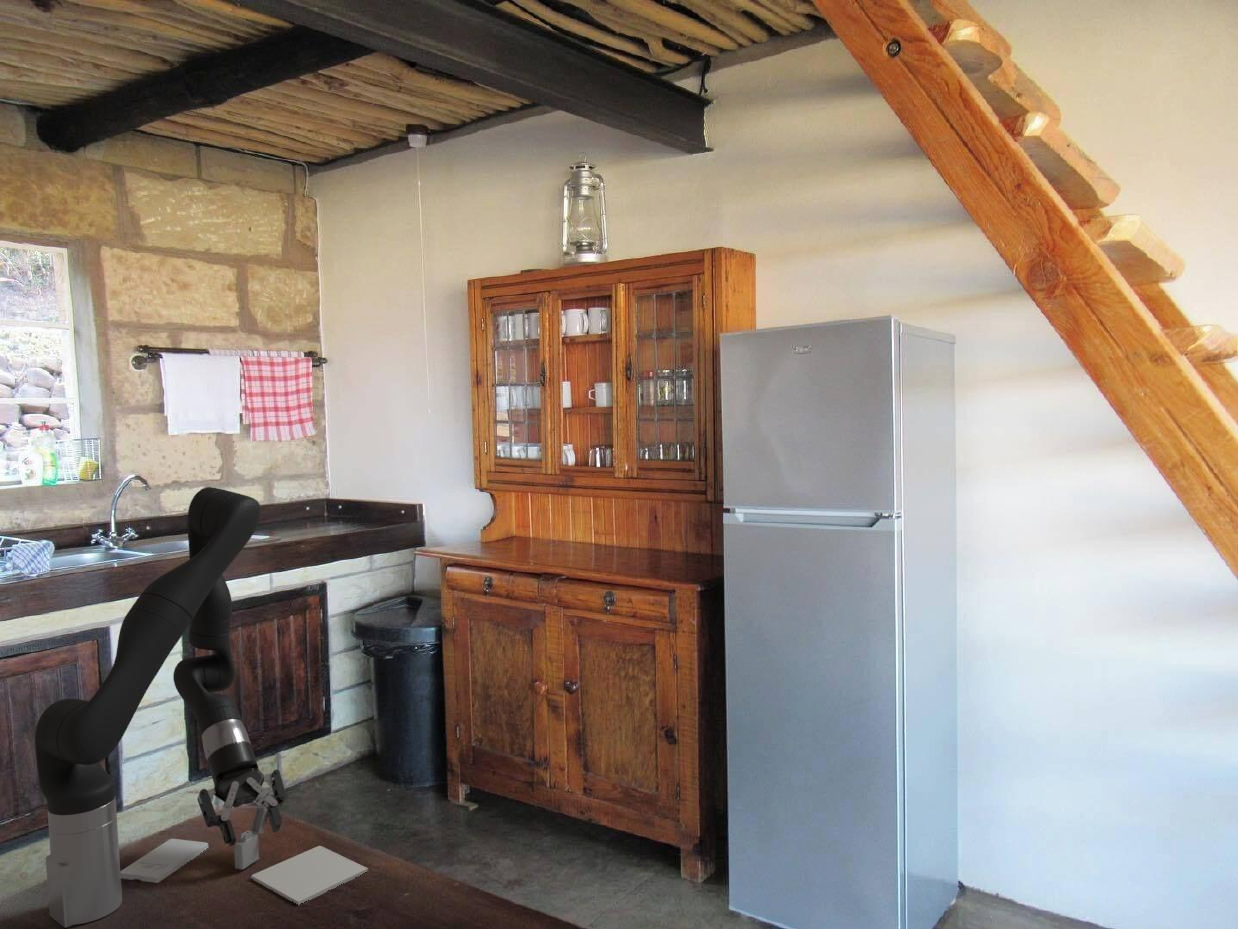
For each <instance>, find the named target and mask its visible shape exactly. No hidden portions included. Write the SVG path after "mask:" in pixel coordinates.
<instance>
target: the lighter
mask: <svg viewBox="0 0 1238 929" xmlns="http://www.w3.org/2000/svg"><path fill="white" fill-rule="evenodd" d="M268 813H269V809H265V808H263V807H256V808H255V812H254V816H253V819H252V820H253V821H252V825H251V829H250V830H246V831H244V832H242V833H240V835H239V839H238V840H236V842H235V844H234V845H233V851H234V868H235V869H237V870H244V869H246V868H248V867H249V866H250V865H252V864H253V863H255V862H256V861H258V860H259V859H260V856H259V855H260V852H259V851H260V850H259V835H263V834H265V829H266V826H267V821H268Z"/></svg>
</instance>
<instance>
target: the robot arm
mask: <svg viewBox="0 0 1238 929" xmlns="http://www.w3.org/2000/svg"><path fill="white" fill-rule="evenodd" d="M261 515H262V508H261V505H260V503H259V501H258V500H257V499H256V498H254V497H251V496H248V495H246V494H242V493H238V492H234V491H230V490H225V489H223V488H222V489H221V488H219V487H218V488H217V487H211V486H207V487H203V488H201V489H200V490H199V491H197V492H196V493H195V494H194V495H193V497H192V499H191V501H190V503H189V507H188V511H187V517H186V518H187V519H186V520H187V523H186V524H187V525H186V526H187V539H188V554H189V555H188V556H189V559H188V560H187V561H185V562H183V563H181V564H180V565H178V566H176V567H174V568H173V569H170V570H168V572H167V571H166V572H165V573H164V574H162V575H160V576H158V577H157V578H156V579H154V580H153V581H151V582H149V583H148V585H147V586H146V587H145V588H144V589H143V591H141V593H140V595H139V596H138V597H137V599H136V600H135V602H134V603H133V604H132V606H131V608H130V609H129V610H128V612H127V613H126V615H125V617H124V618H123V620H122V623H121V625H120V629H119V634H118V640H117V647H116V652H115V658H114V662H113V665H112V667H111V669H110V671H109V673H108V675H107V676H106V678H105V679H104V680H103V682H102V683H101V685H100V687H99V688H98V689H97V691H96V692H95V693H94V694H93V696H92V697H91V698H90V699H89V700H85V699H80V698H63V699H60V700H58V701H55V702H53V703H52V704H50V705H49V706H48V707H47V708H46V709H45V710H44V711H43V712H42V714H41V715H40V716H39V719H38V721H37V723H36V727H35V733H34V749H35V759H36V768H37V774H38V784H39V788H40V791H41V793H42V795H43V796H44V798H45V801H46V806H47V807H46V808H47V819H48V820H47V821H48V834H49V835H48V836H49V838H48V839H49V850H50V854H49V855H47V856H46V857H45V867H46V883H47V895H48V896H47V899H48V911H49V917H51V918H52V919H53V920H54V921H56V922H57V923H58V924H59V925H60V926H62V927H63V928H69V927H71V926H75V925H82V924H86V923H90V922H94V921H97V920H99V919H102V918H104V917H106V916H108V915H110V914H112V913H113V912H116V911H117V910H118V908H120V907H121V905H122V902H123V893H122V892H123V890H122V889H123V888H122V879H121V875H120V871H121V864H120V862H121V860H120V848H119V847H120V846H119V845H120V844H119V831H118V830H119V829H118V817H117V816H118V815H117V799H116V798H117V797H116V783H115V780H114V778H113V777H112V775H110V774H109V773H108V772H107V771H106V770H105V769H104V768H103V766H102V765H101V763H100V762H101V761H103V760H104V759H106V758H108V756H109V755H111V753H112V752H113V751H114V750H115V749H116V747H117V746H118V745H119V743H120V742H121V740H122V738H123V736H124V735H125V733H126V731H127V729H128V727H129V725H130V723H131V721H132V719H133V718H134V716H135V713H136V712H137V710H138V709H139V706H140V704H141V702H142V700H143V698H144V696H145V695H146V693H147V691H148V689H149V687H150V686H151V684H152V682H153V681H154V679H155V678H156V676H157V674H159V671H160V670H161V669H162V667H163V666H164V663H165V661H166V660H167V658H168V657H169V655H170V654H171V653H172V651H173V649H174V648H175V647H176V645H177V644H178V642H179V641H180V639H181V638H182V637H183V635H184V633H185V632H186V630H187V628H188V627H189V628H188V643H189V644H190V645H191V646H192V647H193V648H194V649H197V650H204V651H212V652H213V653H212V654H208V655H200V656H194V657H193V656H192V657H188V658H183V659H182V660H180V661H179V662H178V663H177V665H176V666H175V668H174V671H173V675H172V676H173V679H172V680H173V683H174V687H175V688H176V691H177V693H178V694H179V696H180V697H181V698H182V700H183V701H184V703H185V704H186V705H187V707H188V708H189V710H190V711H191V712H192V714H193V716H194V718H195V720H196V723H197V725H198V729H199V732H200V735H201V739H202V747H203V751H204V758H205V759H206V761H207V762H206V763H207V764H208V765H207V766H208V768H209V772H210V775H211V779H212V781H213V784H214V787H213V788H210V789H208V790H207V789H206V788H202V789H200V790H199V793H198V797H197V798H196V799H197V802H198V805H199V808H200V811H201V814H202V817H203V819H204V823H205V825H206V827H208V828H212V827H218V828H220V832H221V833H220V834H221V835H222V840H223V842H224V843H225V845H228V846H229V847H232V846H233V847H234V844H235V842H237V837H236V835H235V831H234V827H233V824H232V820H231V819H230V820H229V817H230V814H231V810H232V808H234V809H235V808H239V807H241V806H243V805H249V804H252V803H255V804H256V805H257V806H259V807H261V808H265V809H269V813H268V817H267V819H268V821H269V824H270V826H271V829H272V832H273V833H277V832H279V831H280V829H281V826H282V824H283V819H282V816H281V813H280V809H279V807H282V806H283V805H284V803H285V801H286V799H287V793H286V789H285V786H284V782H283V778H282V774H281V772H280V769H274V770H273V771H272V772H269V773H265V774H264V773H262V772H261V771H260V769H259V766H258V762H257V759H256V756H255V753H254V750H253V746H252V742H251V741H250V737H249V734H248V731H247V730H246V728H245V726H244V724H243V721H242V718H241V716H240V711H239V709H238V706H237V703H236V701H235V699H234V698H233V696H230V695H228V694H227V695H225V694H219V693H218V692H222V691H223V692H224V691H226V690H228V689H229V688H230V687H231V686H232V684H233V683H234V681H235V679H236V674H237V673H236V672H237V671H236V666H235V661H234V658H233V654H232V647H231V646H232V645H231V639H230V638H231V637H230V635H231V634H230V633H231V625H232V624H231V623H232V616H233V615H232V614H233V601H232V595H231V592H230V589H229V587H228V584H227V582H226V579H225V577H224V573H225V571H226V570H227V569H228V568H229V566H230V565H231V564H232V563H233V561H234V560H235V559H236V557H237V556H238V555H239V554H240V553H241V552H242V551H243V549H244V548H245V546H246V545H247V544H248V542H249V541H250V540H251V538H252V536H253V535H254V533H255V531H256V530H257V527H258V526H259V523H260V519H261ZM216 693H218V694H216ZM264 782H265V783H266V784H267V786H269V787H271V789H272V793H273V796H274V797H273V796H271V795H270V792H269V791H268V790H267V789H266V788H264V787H263V784H264ZM214 796H215V797H216V798H217V799H219V800H220V801H222V802H224V803H223V807H222V809H221V813H220V814H218V815H217V814H216V811H215V808H214V805H213V803H212V802H213V800H214Z"/></svg>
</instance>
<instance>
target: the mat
mask: <svg viewBox="0 0 1238 929" xmlns="http://www.w3.org/2000/svg"><path fill="white" fill-rule="evenodd" d="M367 871H368V872H369V867H366V866H363V865H362V864H360V863H357V862H355V861H353V860H352V859H349V858H347V857H345V856H342V855H341V854H339V853H337V852H334V851H332V850H331V849H328V848H327V847H324V846H321V845H318V846H316V847H313V848H311V849H309V850H306V851H304V852H302V853H299V854H297V855H294V856H291V857H290V858H288V859H285V860H283V861H281V862H279V863H276V864H274V865H271V866H270V867H267V868H265V869H262V870H260V871H258V872H256V873H253V874H252V875H251V876H250V877H251V880H252V879H253V880H252V881H255V882H256V883H257V884H260V885H261V884H262V885H261V886H264V887H265V888H267V889H268V890H270V889H271V890H270V891H272V890H273V891H272V892H274V893H276V894H277V895H279V896H281V897H283V898H285V899H287V901H288V900H289V902H292V901H293V902H294V903H293V902H292V903H293V904H295V903H296V905H297V904H298V905H297V906H301V905H302V904H301V903H303V904H305V903H306V902H305V901H307V902H309V901H310V900H313V899H315V898H318V897H319V896H321V895H323V894H326V893H327V891H328V890H330V891H331V889H332V890H334V889H335V888H338V887H340V886H341V884H342V885H344V884H346V883H348V882H350V881H353V880H354V879H356V878H355V877H357V878H359V877H361V876H362V874H363V873H365V872H367ZM368 872H367V873H368ZM365 874H366V873H365ZM360 875H361V876H360ZM363 875H364V874H363ZM358 876H359V877H358ZM343 883H344V884H343ZM339 885H340V886H339ZM337 886H338V887H337ZM328 892H329V891H328ZM308 900H309V901H308ZM304 902H305V903H304ZM300 904H301V905H300Z"/></svg>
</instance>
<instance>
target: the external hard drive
mask: <svg viewBox="0 0 1238 929" xmlns="http://www.w3.org/2000/svg"><path fill="white" fill-rule="evenodd" d="M207 848H208V849H209V843H207V842H205V841H195V840H187V839H178V838H169V839H167V840H166V841H165V842H164V843H162V844H160V845H159V846H157V847H156V848H154V849H153V850H151V851H149V852H148V853H146V854H144V855H143V856H142V857H140V858H139V859H137V860H136V861H134V862H132V863H131V864H130V865H127V867H125V868H123V869H121V870H120V875H121V880H123V879H124V880H132V881H136V880H137V881H141V882H145V883H146V882H147V883H155V884H159V883H160V882H162V881H163V880H165V879H166V878H168V877H169V876H171V875H172V874H174V873H175V872H176V871H178V870H179V869H180V868H182V867H184V866H185V865H186V864H188V863H190V862H191V861H192V860H193V859H195V858H197V857H198V856H200V855H201V854H202V853H204V852H205V851H207V850H208V849H207ZM206 849H207V850H206ZM204 850H205V851H204ZM203 851H204V852H203ZM201 852H202V853H201ZM200 853H201V854H200ZM196 856H197V857H196ZM190 860H191V861H190ZM187 862H188V863H187ZM181 866H182V867H181Z"/></svg>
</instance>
